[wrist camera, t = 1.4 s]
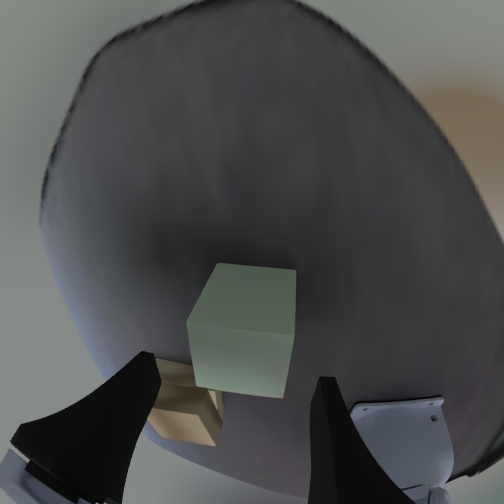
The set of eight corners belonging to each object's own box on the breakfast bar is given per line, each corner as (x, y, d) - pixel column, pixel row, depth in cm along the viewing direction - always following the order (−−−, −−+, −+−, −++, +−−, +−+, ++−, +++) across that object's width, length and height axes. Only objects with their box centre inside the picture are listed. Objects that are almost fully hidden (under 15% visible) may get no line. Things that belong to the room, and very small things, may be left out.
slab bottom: (222, 367, 21) (215, 391, 18) (225, 404, 23) (219, 425, 21) (158, 354, 21) (146, 376, 19) (169, 392, 24) (160, 412, 22)
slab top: (207, 387, 18) (197, 415, 16) (222, 422, 20) (216, 446, 18) (148, 381, 19) (136, 404, 17) (170, 415, 21) (161, 436, 19)
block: (296, 269, 16) (294, 335, 11) (288, 330, 18) (283, 398, 13) (217, 262, 16) (186, 322, 11) (220, 322, 18) (196, 386, 13)
